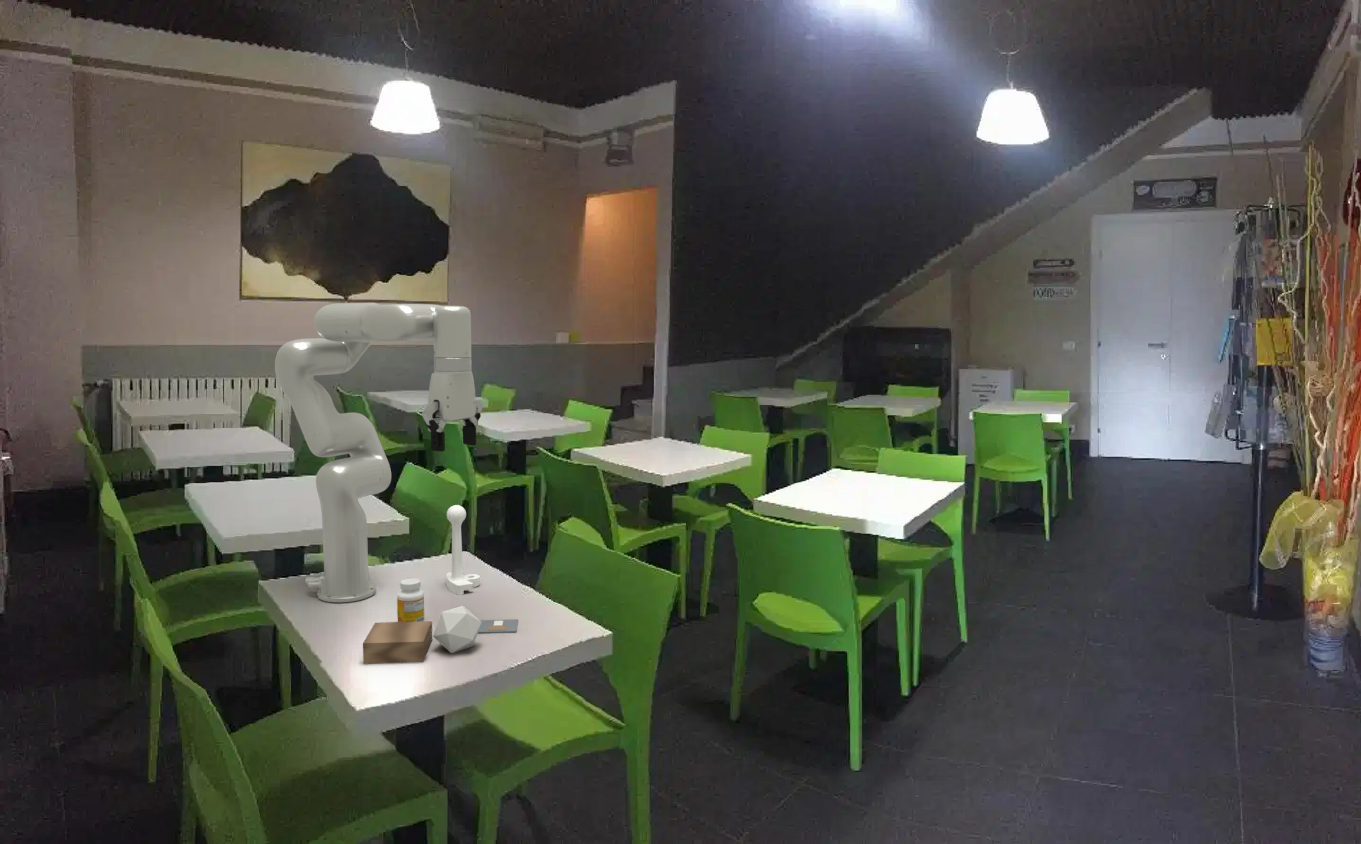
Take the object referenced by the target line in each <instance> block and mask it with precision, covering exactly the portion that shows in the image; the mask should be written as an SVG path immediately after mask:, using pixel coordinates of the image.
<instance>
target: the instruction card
mask: <svg viewBox="0 0 1361 844" xmlns="http://www.w3.org/2000/svg"><path fill="white" fill-rule="evenodd" d="M479 620H480V621H481V622H482V623H481V625H480V628H479V631H478V633H477V635H478V634H500V633H501V634H507V633H508V634H509V633H511V634H512V633H514V634H515V633H517V631H518V624H519V619H518V618H517V619H511V618H510V619H484V620H483V619H479Z"/></svg>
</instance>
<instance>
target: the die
mask: <svg viewBox="0 0 1361 844" xmlns="http://www.w3.org/2000/svg"><path fill="white" fill-rule="evenodd" d="M480 620H481V619H479V618H478V617H477V616H476V615H474V614H473V613H472V612H471V611H470V610H469V609H467V608H466V607H465V606H464V605H461V606H457V607H453V608H451V609H447V610H444V611H441V614H440V615H439V619H438V621H437V624H436V626H435V629H434V632H433V633H432V638H433V639H435V640H436V641H437V642H438V643H440V644H441V646H443V647H444V648H445V649H446V650H447V651H448V652H450V653H451V654H454V653H458V652H459V651H463V650H465V649H468V648H471V647H473V646H474V643H475V641H476V638H477V636H478V634H477V633H478V631H479V628H480V625H481V623H482V622H481V621H480Z"/></svg>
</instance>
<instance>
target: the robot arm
mask: <svg viewBox="0 0 1361 844" xmlns="http://www.w3.org/2000/svg"><path fill="white" fill-rule="evenodd" d="M471 320H472V315H471V310H470V309H469V308H468V307H466V306H463V305H440V304H434V303H433V304H430V303H429V304H428V303H427V304H426V303H425V304H423V303H393V304H390V303H389V304H387V303H386V304H379V303H376V302H350V303H349V302H348V303H346V302H343V303H340V302H339V303H330V304H327V305H324V306H323V307H321V308H319V309H318V310H317V311H316V313H315V315H314V318H313V325H314V329H315V331H316V332H317V334H318V335H319V336H320V337H319V338H315V337H314V338H312V337H311V338H310V337H309V338H299V339H294V340H291V341H287V342H286V343H284V344H283V345H281V347H279V349H278V351H277V353H276V356H275V359H274V372H275V376H276V380H277V383H278V384H279V387H280V388H281V390H282V391H283V393H284V395H285V397H286V398H287V400H288V402H289V403H290V406H291V407H292V409H293V412H294V416H295V418H296V421H297V422H298V425H299V427H300V430H301V433H302V435H303V437H304V440H305V442H306V444H307V447H308V448H309V450H310V452H311V453H312V454H313V455H314V456H316V457H318V458H331V457H336V456H338V457H339V456H341V455H342V456H343V455H348V454H349V456H350V457H345V458H339V459H336V460H332V461H329V462H327V463H325V464H323V466H321V467H320V468H319V470H317V473H316V476H315V486H316V491H317V493H318V498H319V502H320V511H321V520H322V521H321V523H322V545H323V546H322V547H323V548H322V551H323V573H324V574H323V575H320V576H319V577H315V576H310V577H309V576H307V577H306V578H305V579H304V580H305V582H304V583H305V586H308V587H307V588H309V589H311V588H318V589H319V590H318V591H317V598H318V599H319V600H320V601H324V602H329V603H351V602H357V601H362V600H365V599H368V598H370V597H372V596H373V595H375V594H376V591H377V589H376V588H377V587H376V585H375V584H373V583H371V582H369V557H368V556H369V553H368V551H369V550H368V549H369V548H368V547H369V545H368V522H367V515H366V513H365V511H364V509H363V506H362V505H361V504H360V501H359V499H361V498H364V497H368V496H373V495H377V494H380V493H382V492H384V491H386V490H387V489H388V488H389V486H390V485H391V482H392V471H391V465H390V462H389V460H388V458H387V456H386V452H385V451H384V448H383V446H382V443H381V440H380V438H379V436H378V433H377V430H376V429H375V427H374V425H373V423H372V421H370V419H369V418H368V417H366V416H365V415H364V414H362V413H359V412H344V413H340V412H338V410H337V408H336V406H335V405H334V402H333V399H332V397H331V395H330V393H329V392H328V391H327V390H326V389H325V387H324V386H323V385H322V384H320V382H318V381H316V379H315V376H325V375H328V376H329V375H340V374H344V373H347V372H349V371H350V370H351V369H352V368H354V367H355V366H356V364H357V363H358V361H359V360H360V359H361V358H362V356H363V355H364V353H366V351H367V350H368V349H369V347H370V346H371V344H372V343H377V342H413V341H433V372H432V373H431V375H430V381H429V389H428V401H427V402H428V404H427V407H426V408H425V409H423V411H422V412H421V415H422V418H423V421H424V424H425V426H426V428H427V430H428V432H430V450H431V451H433V452H442V453H443V452H445V450H446V438H445V437H446V435H445V431H444V428H445V426H446V424H447V423H449V422H450V423H451V422H458V421H462V422H463V424H464V425H462V443H463V445H468V446H477V427H478V426H479V421H480V418H481V413H482V410H483V407H484V405H483V403H481V402H480V401H478V400H477V399H476V388H475V380H474V374H473V372H472V364H473V362H472V321H471ZM321 337H322V338H321Z"/></svg>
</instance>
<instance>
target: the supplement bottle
mask: <svg viewBox="0 0 1361 844" xmlns="http://www.w3.org/2000/svg"><path fill="white" fill-rule="evenodd" d="M399 585H400V590H399V591H398V592H397V595H396V606H397V607H396V609H397V611H396V613H397V622H418V621H426V620H425V592H424V590H422V589H421V580H420V579H418V578H406V579H403V580H401V581H400V584H399Z"/></svg>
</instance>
